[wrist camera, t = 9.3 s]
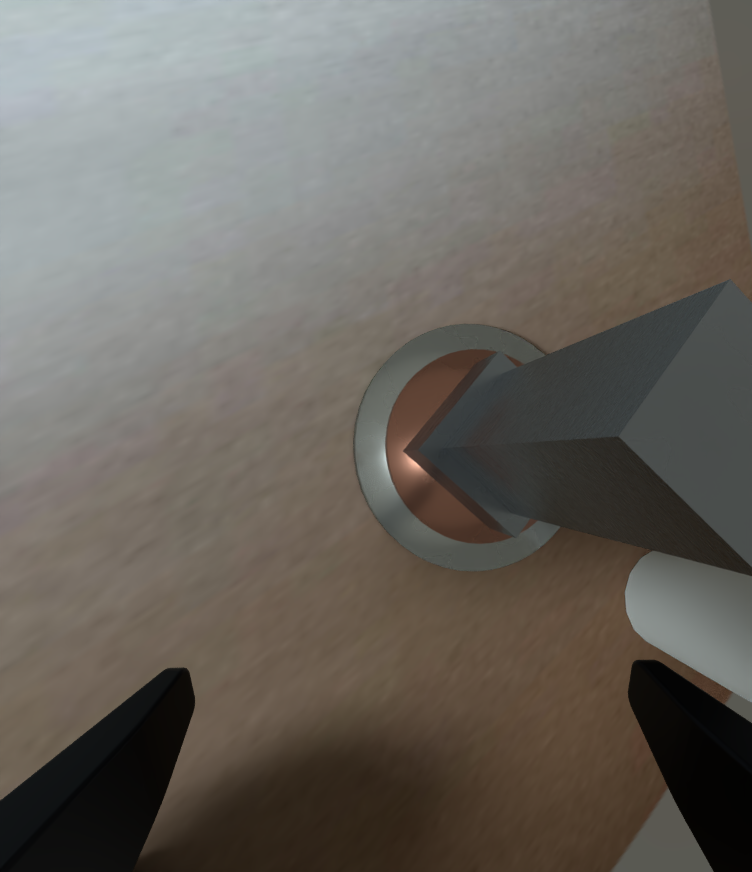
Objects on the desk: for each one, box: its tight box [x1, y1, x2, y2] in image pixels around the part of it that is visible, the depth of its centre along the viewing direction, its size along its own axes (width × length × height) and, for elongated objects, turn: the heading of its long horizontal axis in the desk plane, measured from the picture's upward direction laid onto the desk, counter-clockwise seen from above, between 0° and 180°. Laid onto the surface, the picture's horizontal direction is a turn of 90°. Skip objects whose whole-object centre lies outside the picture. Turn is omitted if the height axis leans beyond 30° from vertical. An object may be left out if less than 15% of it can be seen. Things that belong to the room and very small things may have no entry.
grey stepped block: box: [403, 279, 752, 576], centre depth 14 cm, size 6×6×12 cm
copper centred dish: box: [353, 324, 560, 571], centre depth 21 cm, size 13×13×1 cm
